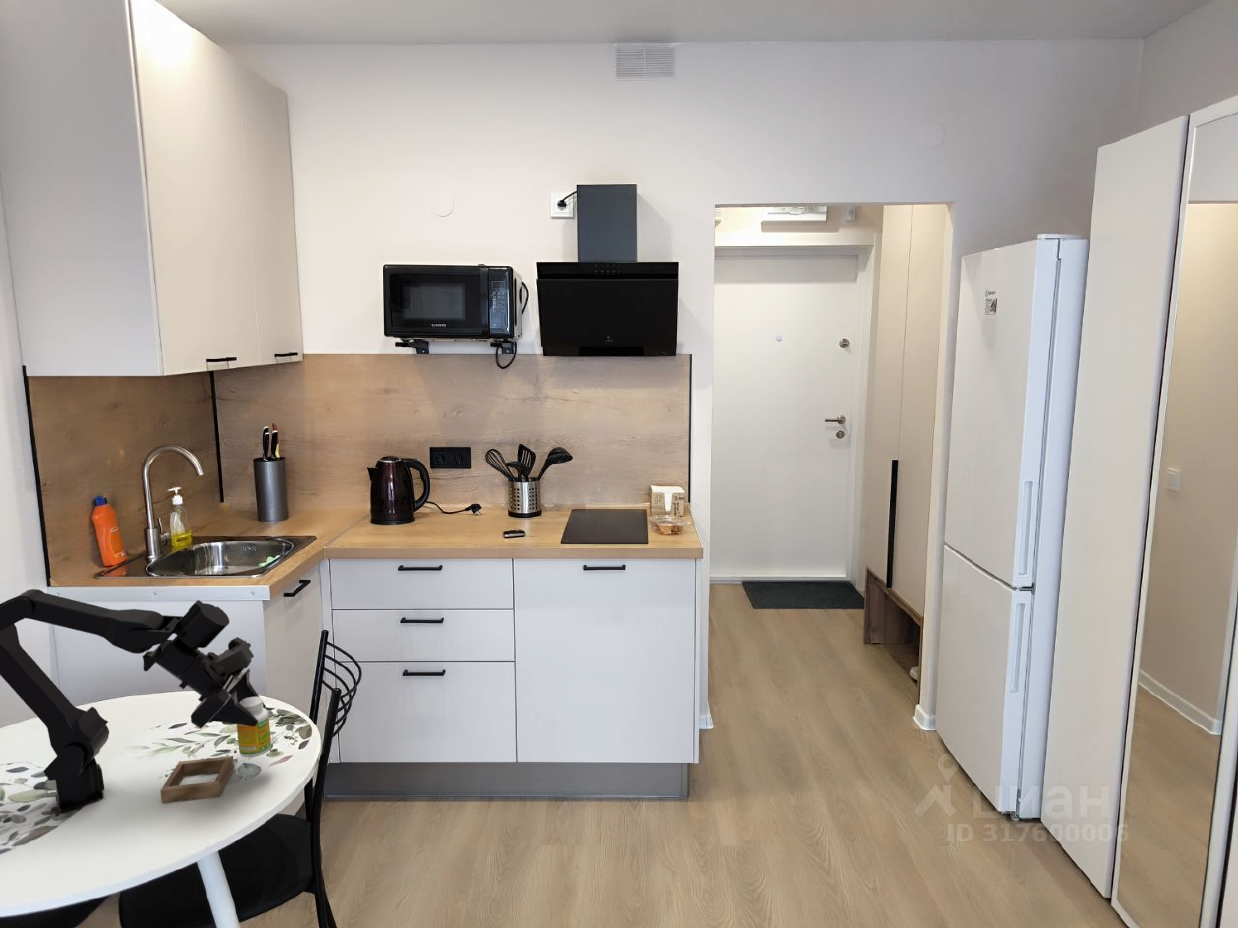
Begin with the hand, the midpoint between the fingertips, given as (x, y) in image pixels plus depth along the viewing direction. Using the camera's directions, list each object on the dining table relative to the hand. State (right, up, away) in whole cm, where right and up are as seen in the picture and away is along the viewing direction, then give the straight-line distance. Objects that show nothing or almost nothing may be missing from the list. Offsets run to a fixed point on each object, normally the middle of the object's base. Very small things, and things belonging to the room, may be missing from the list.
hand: (260, 716), depth 148 cm
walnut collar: (-11, -13, 0) cm, 17 cm away
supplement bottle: (-1, -7, +1) cm, 7 cm away
